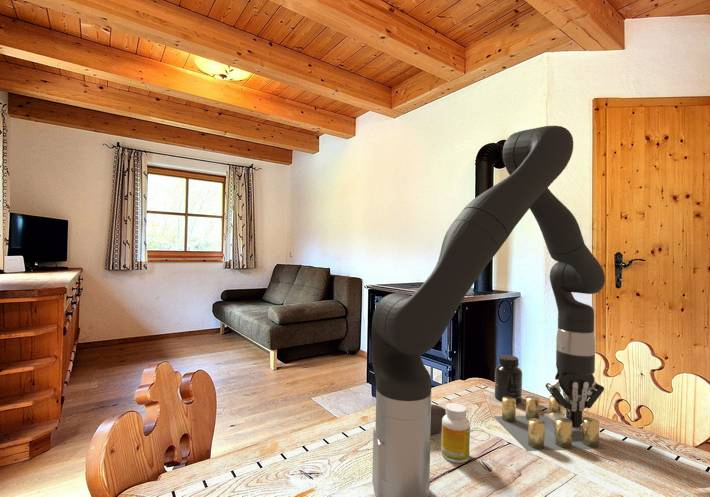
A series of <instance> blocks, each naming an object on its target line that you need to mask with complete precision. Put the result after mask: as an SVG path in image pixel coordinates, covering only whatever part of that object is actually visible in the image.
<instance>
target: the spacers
mask: <svg viewBox="0 0 710 497" xmlns="http://www.w3.org/2000/svg"><path fill="white" fill-rule="evenodd" d="M501 405H502V406H501V416H502V420H504V421H506V422H510V423H513V422H515V418H516V416H517V415H516V412H517V410H516V409H517V408H516V405H517V404H516V399H515V398H513V397H509V396H504V397H502V402H501ZM548 405H549V407H548V409H549V410H548V413H561V414H562V415H564V409H565V408H564V407H562V406H561V405H560V404H558V403H557V401H556V400H555V399H554V397H553V396H552V395H550V396H549V404H548ZM540 409H541V399H540V398H539V397H537V396H534V395H527V396H525V416H526V419H527V420H529V428H528V445H529V446H530V447H532V448H535V449H544V435H545V422H544V421H542V420H540V414H541V413H540V412H541V410H540ZM581 431H582V443H583V444H584V445H586V446H588V447H592V448H598V447H599V444H600V421H599V420H598V419H596V418H593V417H589V416H584V417H583V416H582V424H581ZM555 444H556V445H557V446H559V447H562V448H566V449H570V448H572V421H570V420H568V419H566V418H556V433H555Z"/></svg>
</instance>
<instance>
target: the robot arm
mask: <svg viewBox="0 0 710 497" xmlns="http://www.w3.org/2000/svg"><path fill="white" fill-rule="evenodd" d="M502 147H503V148H502V162H503V164H504V167H505V170H506V172H507V173H508V176H507V177H505V178H504V179H503V180H501V181H500V182H498V183H497V184H495V185H493V186H492V187H490V188H489V189H487V190H485V191H484V192H482V193H480V194H479V195H478V196H476V197H475V198H474V199H472V200H471V201H470V202H469V203H467V205H465V206H464V208H463V209H462V210H461V212H459V214H458V215H457V217H456V218H455V219H454V220H453V222H451V224H450V226H449V228H448V229H447V230H446V232H445V235H444V237H443V240H442V244H441V248H440V253H439V256H438V259H437V263H436V265H435V266H434V269H433V270H432V272H431V273H430V274H429V276H428V277H427V278H426V279H425V281H424V282H423V283H422V284H421V285H420V287H419V288H418V289H417V290H416V291H415V292H414V293H413V294H412V295H409V294H405V293H401V292H400V293H399V292H398V293H397V292H394V293H390V294H388V295H385V296H383V297H382V298H381V299H380V301H378V302H377V305H376V306H375V309H374V310H373V315H372V322H371V352H372V353H371V355H372V356H371V360H372V369H373V374H374V376H375V381H376V382H375V384H376V386H375V387H376V388H375V390H376V392H375V394H376V395H375V426H374V427H373V429H372V430H373V433H372V436H373V437H372V478H371V479H372V480H371V481H372V486H373V492H374V495H375V496H374V497H430V485H431V482H430V481H431V480H430V472H431V434H430V431H431V404H432V376H431V374H430V372H429V371H428V369H427V367H426V366H425V364H424V361H423V359H422V356H421V355H424V354H426V353H428V352H430V351H431V350H432V349H433V348H434V347H435V346H436V345H437V343H438V342H439V340H440V339H441V338H442V336H443V335H444V333H445V331H446V329H447V327H448V326H449V325H450V323H451V321H452V319H453V317H454V316H455V314H456V312H457V310H458V309H459V307H460V305H461V304H462V302H463V300H464V298H465V297H466V295H467V294H468V292H469V291H470V290H471V288H472V287H473V285H474V284H475V282H476V281H477V280H478V278H479V277H480V275H481V274H482V273H483V271H484V270H485V269H486V268H487V265H488V264H490V262H491V261H492V259H494V257H495V256H496V254H497V253H498V252H499V251H500V250H501V247H502V246H503V245H504V243H505V242H506V241H507V240H508V239H509V237H510V235H511V234H512V232H513V230H514V229H515V228H516V226H517V225H518V224H519V222H520V221H521V220H522V219H523V217H524V216H525V215H526V214H527V212H528V211H529V210H530V212H531V213H532V215H533V217H534V219H535V220H536V223H537V225H538V227H539V229H540V232H541V234H542V238H543V239H544V243H545V245H546V248H547V251H548V253H549V255H550V258H552V259H553V260H554V261H556V262H555V263H554V264H553V266H552V267H551V268H550V271H549V282H550V285H551V289H552V292H553V294H554V295H553V296H554V299H555V300H554V301H555V303H556V308H557V332H556V339H555V341H556V345H555V348H556V350H555V367H556V371H557V372H556V375H555V376H554V379H555V380H554V381H552V382H551V383H549V382H547V383H545V388H546V389H547V391H548V392H549V393H550V396H553V397H554V399H555V400H556V401H557V403H558V404H560V405H561V406H562V407H564V409H565V417H567V418H568V419H569V420H571V421H572V427H573V428H574V427H577V428H581V426H582V418H583V412H584V411H585V409H591V408H592V407H593V406H594V404H595V403H596V402H597V400H598V399H599V397H600V396H601V395H602V394H603V392H604V391H605V387H604V386H603V385H601V384H599V383H597V382H596V381H595V378H596V377H595V376H594V374H595V371H596V370H595V369H596V368H595V367H596V340H595V338H596V337H595V332H594V331H595V310H594V308H593V307H592V305H590V304H587V303H583V302H581V301H578V300H576V298H575V297H574V295H573V293H577V294H584V295H585V294H586V295H587V294H588V295H593V294H594V295H595V294H597V293H599V292H600V291H602V289H603V287H604V286H605V283H606V275H605V271H604V269H603V267H602V265H601V264H600V262H599V261H598V260H597V258H596V257H595V256H594V254H593V253H592V252H591V250H590V248H588V246H587V245H586V243H585V240H584V238H583V234H582V231H581V228H580V225H579V223H578V221H577V219H576V217H575V215H574V214H573V213H572V212H571V210H570V209H568V207H567V206H566V205H565V204H564V203H563V202H562V201H560V199H559V198H558V197H557V196H555V194H554V193H553V192H552V191H551V190H550V189H549V187H550V186H551V184H553V182H554V181H555V180H556V179H558V177H559V176H560V175H561V174H562V173H563V172H564V170H565V169H566V167H567V166H568V164H569V162H570V160H571V158H572V154H573V152H574V138H573V135H572V133H571V132H570V130H569V129H567V128H566V127H563V126H561V125H545V126H540V127H533V128H530V129H524V130H519V131H517V132H514V133H512V134H511V135H509V136H508V137H507V139H506V140H505V141H504V144H503V146H502ZM561 391H562V393H561Z"/></svg>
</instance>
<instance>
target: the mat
mask: <svg viewBox="0 0 710 497" xmlns="http://www.w3.org/2000/svg"><path fill="white" fill-rule="evenodd" d="M492 417H493V418H494V420H496V421H497V422H498V423H499V424H500V425H501V426H502V427H503V428H504V429H505V430H506V431H507V432H508V433H509V434H510V435H511V437H513V438H514V440H516V441H517V443H519V444H520V445H521V446H522V448H524V449H525V450H526V452H533V451H535V452H538V451H567V450H569V451H570V450H571V451H572V450H574V451H575V450H603V449H604V450H605V449H606V450H607V448H606V447H604V446H603V445H602V444H600V443H599V447H598V448H592V447H588V446H586V445H584V444H583V443H582V429H580V428H579V427H574V428H573V427H572V448H570V449H566V448H562V447H559V446H557V445H556V444H555V435H554V434H552V433H551V432H550V431H549V430H548V429H546V428H545V435H544V449H535V448H532V447H530V446H529V445H528V428H529V420H527V419H526V415H516V418H515V422H513V423H510V422H506V421H504V420H502V415H493V416H492ZM540 420H542V421H544V414H541V415H540Z"/></svg>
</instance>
